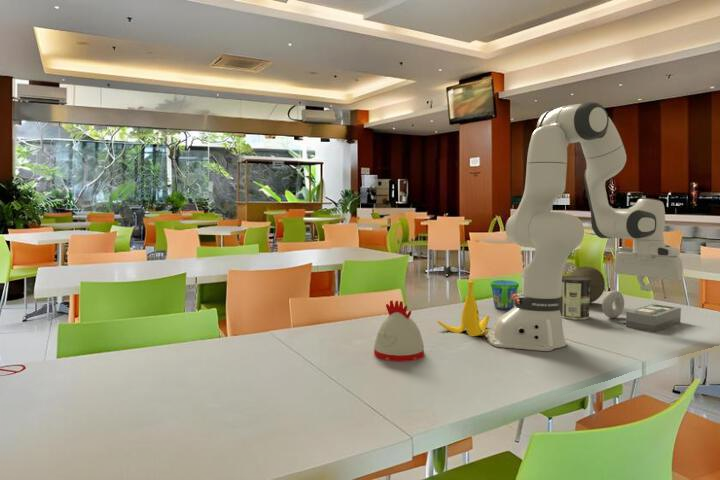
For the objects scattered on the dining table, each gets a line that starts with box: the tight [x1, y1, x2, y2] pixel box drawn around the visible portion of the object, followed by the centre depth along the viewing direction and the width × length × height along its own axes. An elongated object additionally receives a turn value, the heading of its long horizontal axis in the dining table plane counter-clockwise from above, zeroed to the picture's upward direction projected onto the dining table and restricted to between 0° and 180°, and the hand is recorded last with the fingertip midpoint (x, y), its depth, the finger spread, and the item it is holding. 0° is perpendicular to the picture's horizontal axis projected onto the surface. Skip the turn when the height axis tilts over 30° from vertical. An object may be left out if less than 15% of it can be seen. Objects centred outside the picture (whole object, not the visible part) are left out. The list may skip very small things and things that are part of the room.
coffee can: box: [561, 275, 590, 321], centre depth 188 cm, size 10×10×14 cm
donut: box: [601, 289, 625, 319], centre depth 185 cm, size 10×3×10 cm, turn 119°
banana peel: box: [436, 280, 490, 337], centre depth 169 cm, size 17×19×17 cm
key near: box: [637, 309, 655, 315], centre depth 172 cm, size 4×4×2 cm
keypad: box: [625, 303, 682, 333], centre depth 176 cm, size 20×9×5 cm, turn 128°
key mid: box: [645, 306, 663, 312], centre depth 176 cm, size 4×4×2 cm
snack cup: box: [490, 279, 520, 311], centre depth 204 cm, size 16×10×10 cm
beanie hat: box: [373, 300, 425, 362], centre depth 146 cm, size 14×14×15 cm
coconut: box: [569, 266, 606, 304], centre depth 209 cm, size 14×14×15 cm
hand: (645, 290), depth 171 cm, fingers closed
